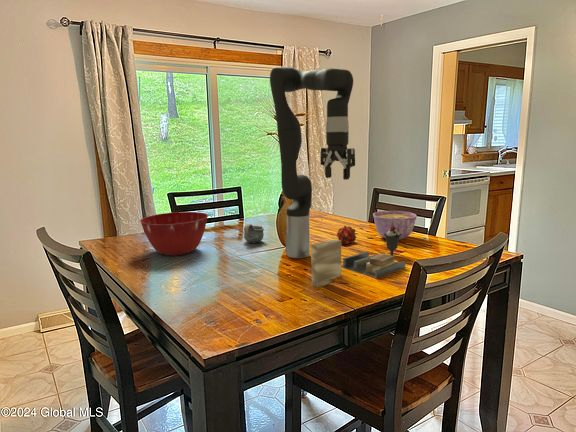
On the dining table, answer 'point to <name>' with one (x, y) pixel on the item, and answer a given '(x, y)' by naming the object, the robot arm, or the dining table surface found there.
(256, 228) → the mug
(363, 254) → the rack
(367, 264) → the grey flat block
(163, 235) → the mixing bowl
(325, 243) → the pale wood block
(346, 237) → the dragon fruit
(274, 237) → the dining table surface
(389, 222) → the bowl of food
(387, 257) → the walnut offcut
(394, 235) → the sundae
